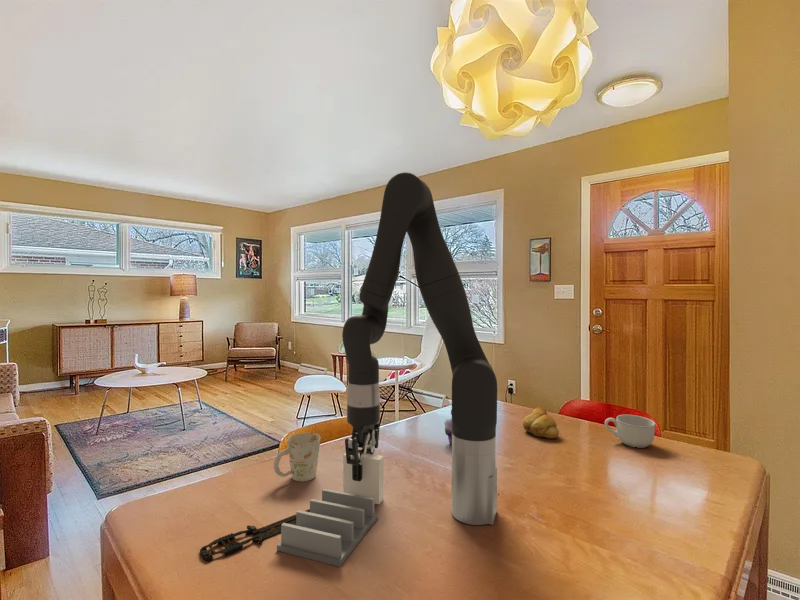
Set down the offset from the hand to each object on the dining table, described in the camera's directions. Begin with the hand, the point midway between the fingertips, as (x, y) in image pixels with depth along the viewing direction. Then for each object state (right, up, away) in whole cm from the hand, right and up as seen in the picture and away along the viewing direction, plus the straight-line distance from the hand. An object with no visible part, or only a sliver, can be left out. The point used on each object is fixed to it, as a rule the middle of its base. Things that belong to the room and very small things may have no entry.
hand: (363, 474), depth 95 cm
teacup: (+81, -6, +36) cm, 89 cm away
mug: (-18, -6, +10) cm, 21 cm away
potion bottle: (+27, -5, +35) cm, 44 cm away
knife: (-18, -6, -13) cm, 23 cm away
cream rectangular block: (0, -6, 0) cm, 6 cm away
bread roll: (+56, -5, +44) cm, 72 cm away
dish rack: (-5, -6, -14) cm, 16 cm away
